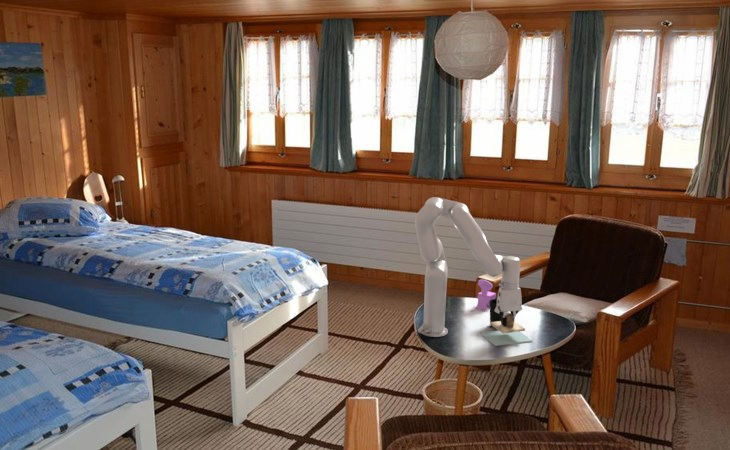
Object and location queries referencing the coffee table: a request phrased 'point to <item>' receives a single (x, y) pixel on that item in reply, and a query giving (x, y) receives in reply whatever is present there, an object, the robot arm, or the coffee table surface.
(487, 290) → the toy chair
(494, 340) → the mat
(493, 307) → the cup
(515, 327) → the lid
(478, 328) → the coffee table surface
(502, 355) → the coffee table surface
